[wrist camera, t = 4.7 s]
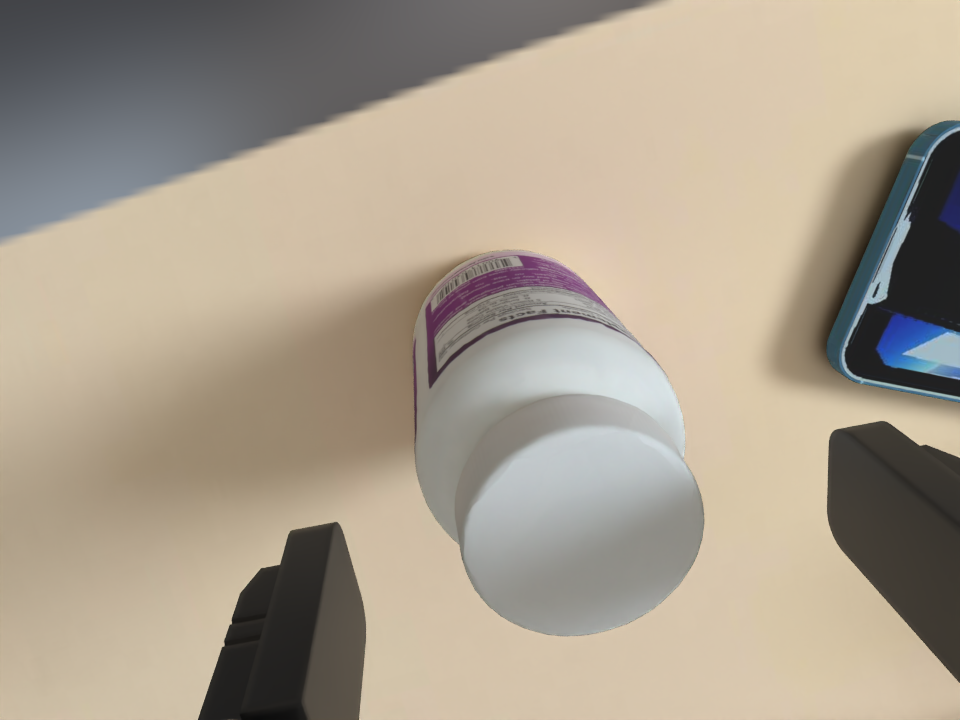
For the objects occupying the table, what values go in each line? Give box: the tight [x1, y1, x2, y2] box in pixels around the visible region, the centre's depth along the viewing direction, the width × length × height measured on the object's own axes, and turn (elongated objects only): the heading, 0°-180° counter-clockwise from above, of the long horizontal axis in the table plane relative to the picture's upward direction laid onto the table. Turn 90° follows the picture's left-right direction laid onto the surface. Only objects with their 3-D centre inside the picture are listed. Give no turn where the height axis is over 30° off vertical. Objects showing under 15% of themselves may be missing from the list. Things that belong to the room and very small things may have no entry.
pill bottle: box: [413, 250, 704, 636], centre depth 16 cm, size 5×5×10 cm
